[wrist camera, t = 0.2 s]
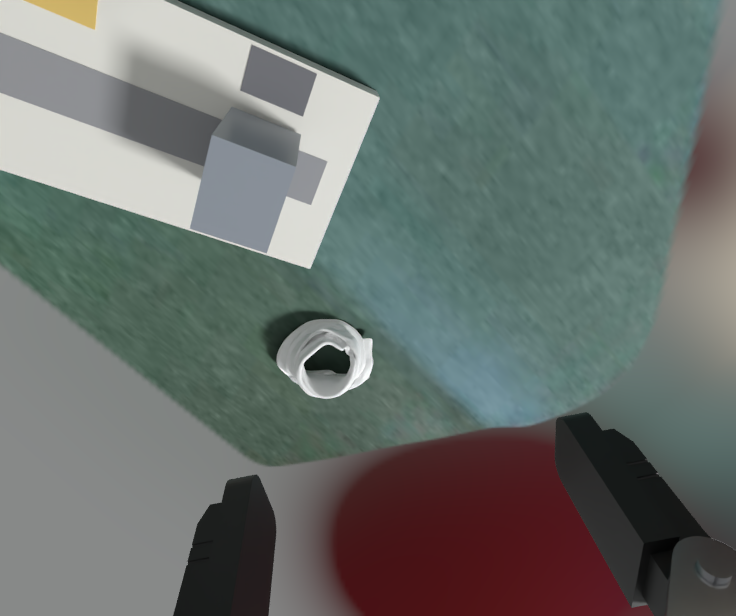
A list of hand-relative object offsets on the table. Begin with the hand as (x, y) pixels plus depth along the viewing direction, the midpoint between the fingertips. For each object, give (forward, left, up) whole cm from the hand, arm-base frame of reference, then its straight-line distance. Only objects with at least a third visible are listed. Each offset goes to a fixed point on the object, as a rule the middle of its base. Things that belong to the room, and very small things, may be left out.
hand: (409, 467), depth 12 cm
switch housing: (+1, -12, -23) cm, 26 cm away
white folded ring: (+15, +3, -23) cm, 28 cm away
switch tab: (+1, -6, -20) cm, 21 cm away
